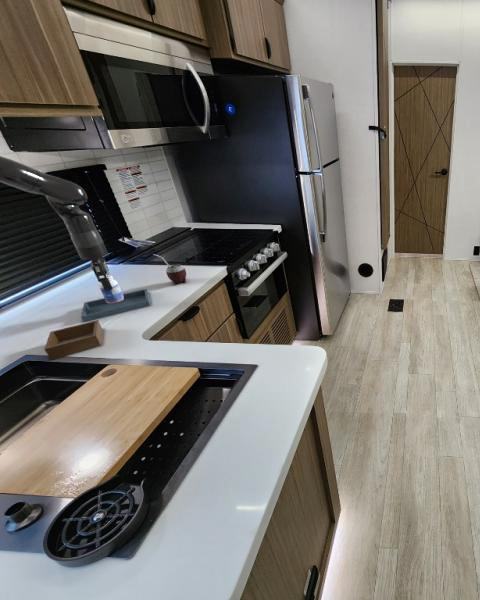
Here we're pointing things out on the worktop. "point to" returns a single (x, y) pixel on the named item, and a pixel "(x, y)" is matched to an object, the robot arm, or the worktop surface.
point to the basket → (77, 345)
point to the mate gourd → (175, 272)
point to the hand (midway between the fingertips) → (109, 287)
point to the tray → (115, 305)
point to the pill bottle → (112, 291)
